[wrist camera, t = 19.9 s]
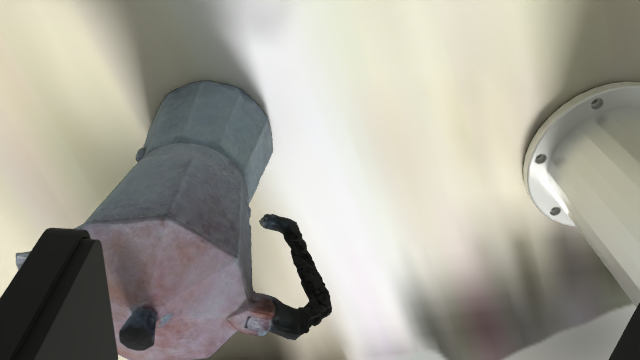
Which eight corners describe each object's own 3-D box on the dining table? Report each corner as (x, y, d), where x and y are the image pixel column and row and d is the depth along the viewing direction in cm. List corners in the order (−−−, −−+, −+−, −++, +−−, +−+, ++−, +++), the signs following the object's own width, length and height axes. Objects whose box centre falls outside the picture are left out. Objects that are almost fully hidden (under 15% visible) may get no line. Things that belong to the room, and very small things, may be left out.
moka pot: (111, 52, 37) (-36, 236, 20) (333, 93, 39) (370, 288, 22) (109, 171, 42) (-12, 400, 25) (306, 201, 44) (320, 428, 27)
